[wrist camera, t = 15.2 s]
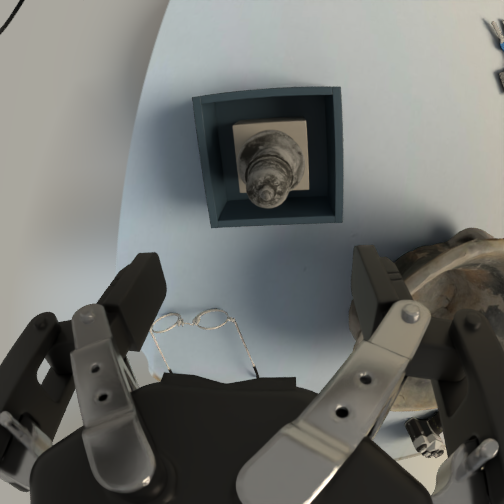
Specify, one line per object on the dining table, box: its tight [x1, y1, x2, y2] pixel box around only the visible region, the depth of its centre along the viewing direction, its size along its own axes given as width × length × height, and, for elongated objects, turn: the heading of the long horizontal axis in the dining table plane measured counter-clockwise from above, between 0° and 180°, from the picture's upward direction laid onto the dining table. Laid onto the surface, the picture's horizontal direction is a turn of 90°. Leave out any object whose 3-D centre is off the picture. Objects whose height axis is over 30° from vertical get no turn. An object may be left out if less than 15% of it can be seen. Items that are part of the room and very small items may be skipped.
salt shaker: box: [237, 130, 305, 208], centre depth 24 cm, size 6×6×12 cm
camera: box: [405, 412, 445, 458], centre depth 57 cm, size 15×11×10 cm
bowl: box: [349, 228, 504, 412], centre depth 34 cm, size 27×26×15 cm
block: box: [233, 116, 309, 193], centre depth 31 cm, size 7×7×5 cm
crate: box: [192, 87, 343, 228], centre depth 31 cm, size 14×14×7 cm
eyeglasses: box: [149, 308, 259, 378], centre depth 49 cm, size 16×19×5 cm
